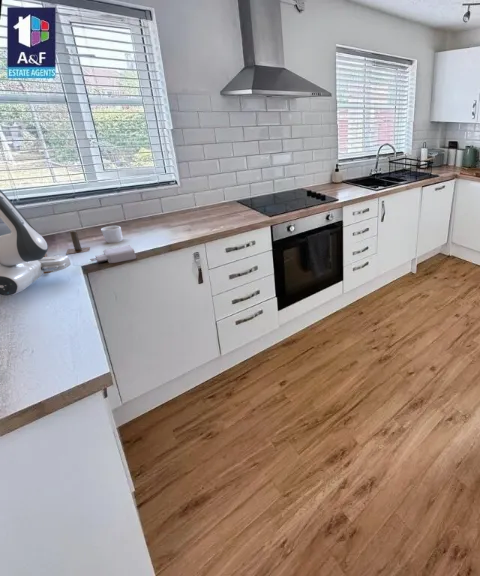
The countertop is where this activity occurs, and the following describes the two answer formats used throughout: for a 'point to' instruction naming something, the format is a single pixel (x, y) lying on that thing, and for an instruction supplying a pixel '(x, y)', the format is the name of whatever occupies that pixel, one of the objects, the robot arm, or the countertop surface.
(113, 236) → the cup
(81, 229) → the countertop surface
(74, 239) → the stand
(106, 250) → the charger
